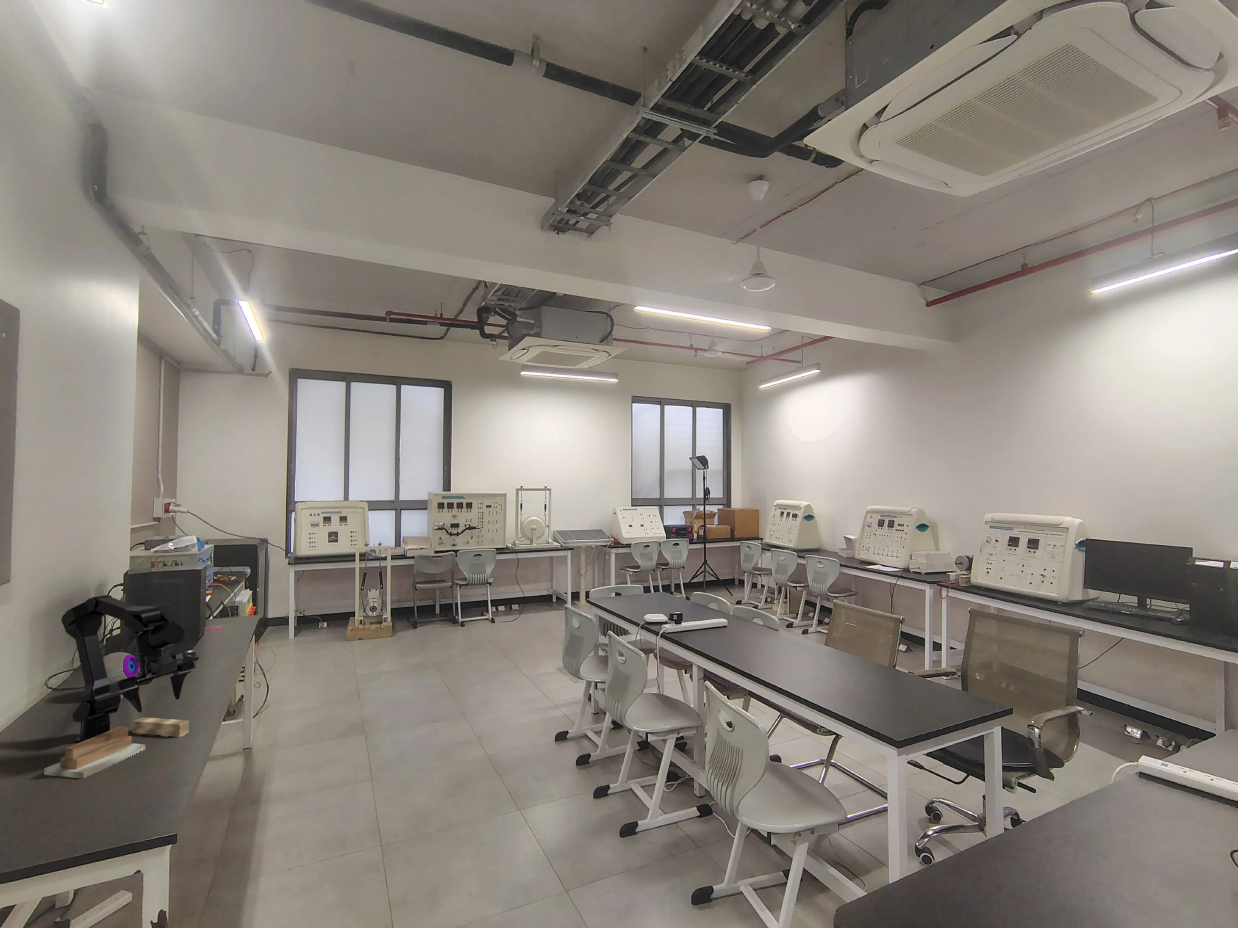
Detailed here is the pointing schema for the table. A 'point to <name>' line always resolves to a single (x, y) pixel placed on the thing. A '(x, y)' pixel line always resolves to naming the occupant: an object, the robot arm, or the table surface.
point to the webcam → (120, 666)
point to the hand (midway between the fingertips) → (159, 705)
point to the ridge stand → (95, 754)
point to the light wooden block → (161, 726)
